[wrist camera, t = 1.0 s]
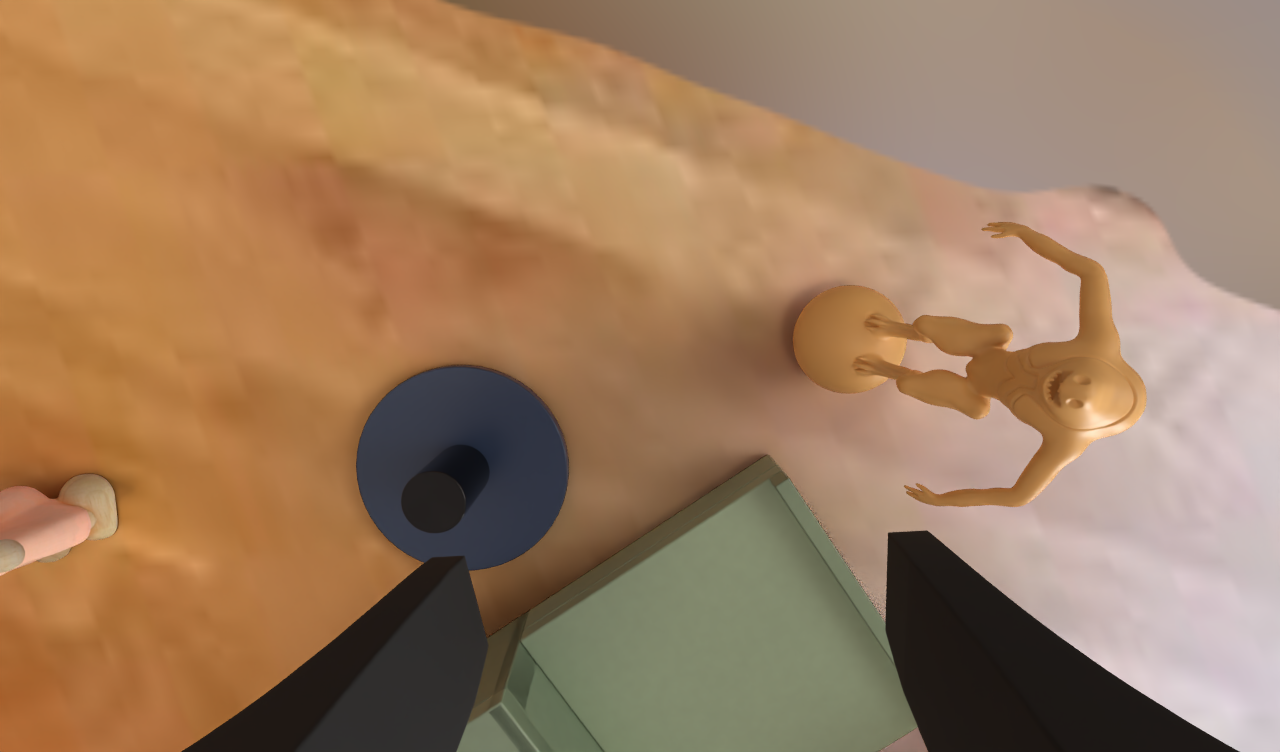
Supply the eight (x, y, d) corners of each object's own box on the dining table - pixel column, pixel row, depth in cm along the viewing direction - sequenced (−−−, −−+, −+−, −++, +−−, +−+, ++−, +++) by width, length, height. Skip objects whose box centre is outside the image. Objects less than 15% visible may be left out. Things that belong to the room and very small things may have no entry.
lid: (444, 602, 26) (408, 663, 22) (319, 440, 25) (256, 471, 21) (609, 492, 26) (605, 533, 22) (489, 323, 25) (460, 330, 21)
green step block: (593, 876, 28) (583, 1032, 22) (432, 673, 27) (377, 781, 21) (916, 676, 27) (996, 782, 21) (767, 453, 26) (810, 501, 20)
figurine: (811, 220, 25) (983, 155, 13) (956, 257, 25) (1256, 227, 13) (756, 423, 26) (869, 537, 14) (896, 456, 26) (1124, 595, 14)
